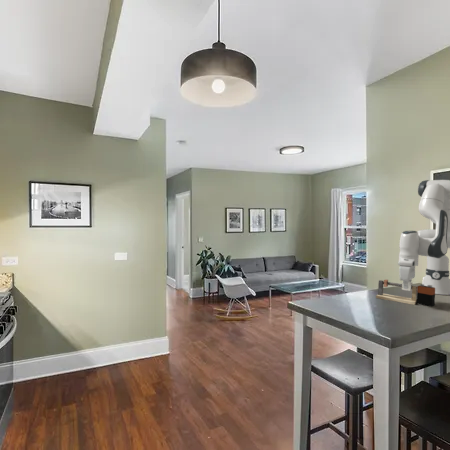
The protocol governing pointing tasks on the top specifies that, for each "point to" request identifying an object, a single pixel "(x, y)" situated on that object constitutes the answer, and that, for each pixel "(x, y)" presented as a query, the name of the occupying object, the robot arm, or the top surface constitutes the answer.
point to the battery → (426, 295)
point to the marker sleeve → (408, 286)
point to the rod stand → (393, 297)
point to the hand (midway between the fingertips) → (407, 287)
